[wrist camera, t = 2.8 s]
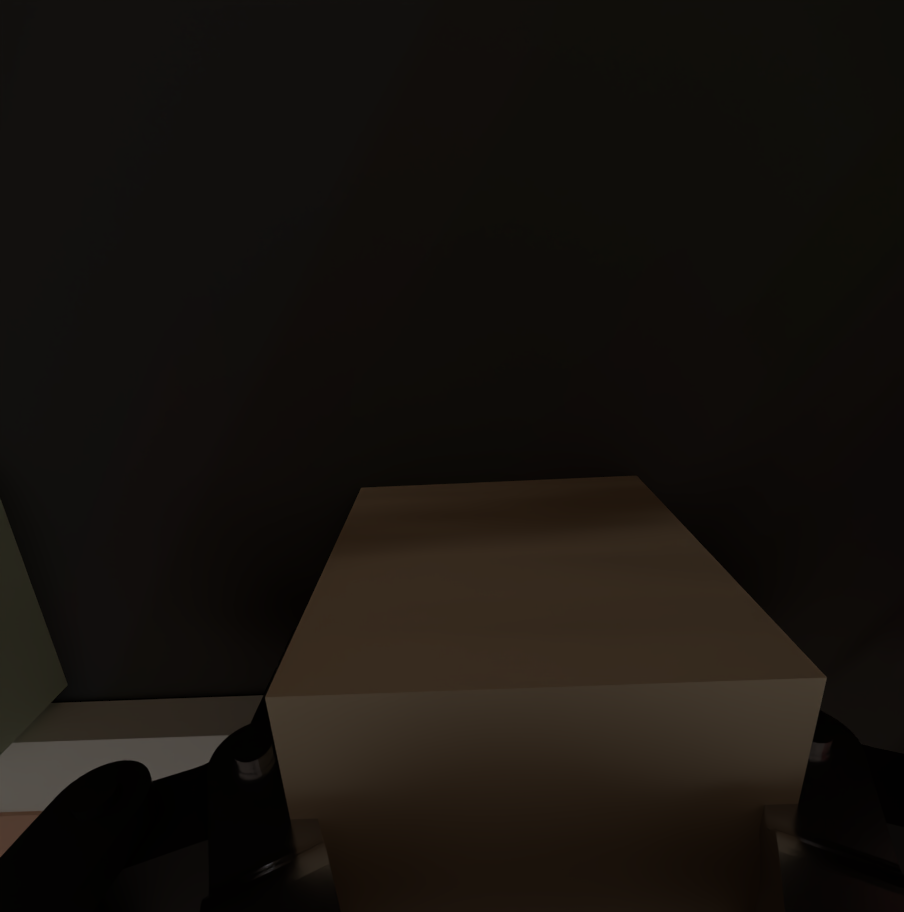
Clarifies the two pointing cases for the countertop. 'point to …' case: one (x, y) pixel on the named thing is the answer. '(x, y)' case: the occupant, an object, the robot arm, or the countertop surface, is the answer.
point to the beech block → (537, 705)
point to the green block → (22, 646)
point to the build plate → (109, 746)
